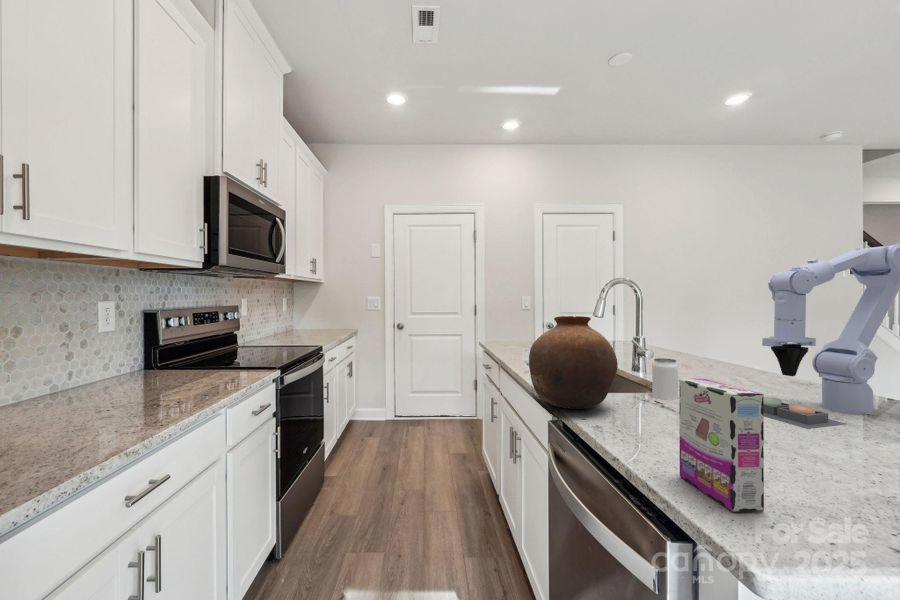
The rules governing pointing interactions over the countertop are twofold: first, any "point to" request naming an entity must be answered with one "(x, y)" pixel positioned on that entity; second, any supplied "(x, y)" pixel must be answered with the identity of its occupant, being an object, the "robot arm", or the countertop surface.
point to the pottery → (572, 364)
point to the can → (665, 379)
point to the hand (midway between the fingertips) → (788, 375)
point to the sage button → (772, 401)
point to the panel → (799, 417)
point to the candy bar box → (723, 443)
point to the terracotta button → (802, 409)
